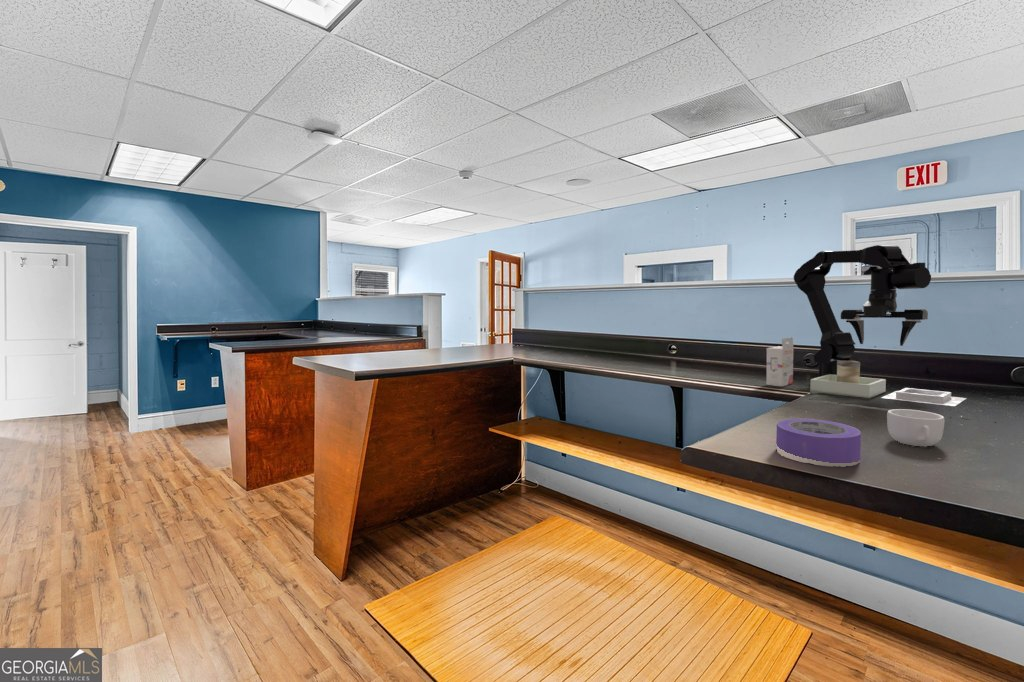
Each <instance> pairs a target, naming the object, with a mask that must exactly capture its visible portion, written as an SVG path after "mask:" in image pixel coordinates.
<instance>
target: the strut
mask: <svg viewBox="0 0 1024 682" xmlns="http://www.w3.org/2000/svg"><path fill="white" fill-rule="evenodd" d="M860 373H861V362H860V361H856V360H850V361H840V360H837V381H838V382H848V383H858V384H859V380H860V377H861V374H860Z"/></svg>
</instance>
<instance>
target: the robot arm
mask: <svg viewBox="0 0 1024 682" xmlns="http://www.w3.org/2000/svg"><path fill="white" fill-rule="evenodd" d="M839 263H840V264H850V263H851V264H853V263H857V264H858V263H860V264H863V265H868V266H869V267H868V269H866V270H864V272H863V275H864V276H870V293H869V295H868V299H867V300H866V302H865V303H863V305H862V307H863V309H843V310H842V311H841V312H840V320H845V322H846V323H849V324H850V325H852V327H853V329H854V331H855V334H856V336H857V338H858V342H859V344H860V345H863V344H864V341H865V320H864V319H863V318H866V319H867V318H872V319H873V318H874V319H875V318H876V319H877V318H879V319H880V318H883V319H884V318H886V319H887V318H889V319H890V318H891V319H894V318H895V319H896V318H897V319H898V318H899V319H905V320H902V321H901V332H900V337H899V345H900V347H903V346H904V344H905V342H906V340H907V339H908V337H909V335H910V333H911V331H912V330H913V328H914V327H915V325H916V324H918V323H919V324H920V323H921V322H922V321H924V320H928V319H929V318H928V317H929V314H928V313H929V312H928V310H926V308H925V309H923V308H918V309H916V308H915V309H914V308H910V309H909V308H908V309H904V311H897V306H898V304H897V294H898V293H897V289H898V290H912V289H913V290H914V289H915V290H916V289H918V290H919V289H926V288H927V287H929V285H930V283H931V281H932V275H931V272H930V270H929V269H928V268H927V267H926V262H913V263H910V261H909V260H908V259H907V258H906V257H905V255H904V254H903V251H902V249H901V248H900V246H899V245H886V244H885V245H883V244H880V245H879V244H877V245H876V244H875V245H872V246H868V247H865V248H862V249H857V250H856V249H855V250H835V251H833V250H822V251H819V252H817V253H816V254H815V255H814V256H813V257H811V258H810V259H809V260H808V261H806V262H804V263H803V264H801V266H800V267H799V268H798V269H797V270H795V272H794V275H793V282H794V283H795V285H796V286H797V288H798V289H799V290H800V291H802V293H804V294H805V295H806V297H807V299H808V302H809V305H810V307H811V309H812V312H813V314H814V316H815V317H814V318H815V319H816V322H817V325H818V327H819V329H820V332H821V337H820V341H819V344H820V349H819V350H818V351H817V352H816V353H815V354H814V355H813V359H814V362H815V363H818V377H821V376H824V375H828V374H831V375H837V360H840V361H851V358H852V356H853V355H854V353H855V351H856V348H855V345H856V342H855V341H854V340H853V337H852V334H851V332H850V331H848V332H844V331H843V330H841V327H840V326H839V323H838V320H837V319H836V317H835V316H836V315H834V312H833V310H832V307H831V303H830V302H829V299H828V297H827V294H826V292H825V289H824V288H825V286H826V278H825V277H826V276H827V275H829V273H830V271H831V268H832V266H833V265H834V264H839ZM878 267H879V268H878Z"/></svg>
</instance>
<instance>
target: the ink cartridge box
mask: <svg viewBox="0 0 1024 682" xmlns="http://www.w3.org/2000/svg"><path fill="white" fill-rule="evenodd" d="M787 342H789V343H787ZM794 350H795V349H794V339H793V337H792V336H791V337H785V338H782V339H781V346H780V345H778V346H772V347H766V386H775V387H781V388H782V387H786V386H789V385H792V384H793V382H794V379H793V378H794Z"/></svg>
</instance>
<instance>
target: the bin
mask: <svg viewBox="0 0 1024 682" xmlns="http://www.w3.org/2000/svg"><path fill="white" fill-rule="evenodd" d="M886 384H887V379H885V378H874V377H873V378H872V377H862V376H860V380H859V384H858V383H848V382H838V381H837V375H831V374H828V375H824V376H821V377H819V376H818V377H814V378H811V379H810V384H809V385H810V386H809V387H810V388H809V391H810V392H809V393H810V394H812V395H813V394H814V395H816V394H819V393H821V394H829V395H837V396H846V397H847V396H848V397H855V398H861V399H862V398H863V399H871V398H874V397H876V396H878V395H881V394H884V393H886V387H887V386H886Z"/></svg>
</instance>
